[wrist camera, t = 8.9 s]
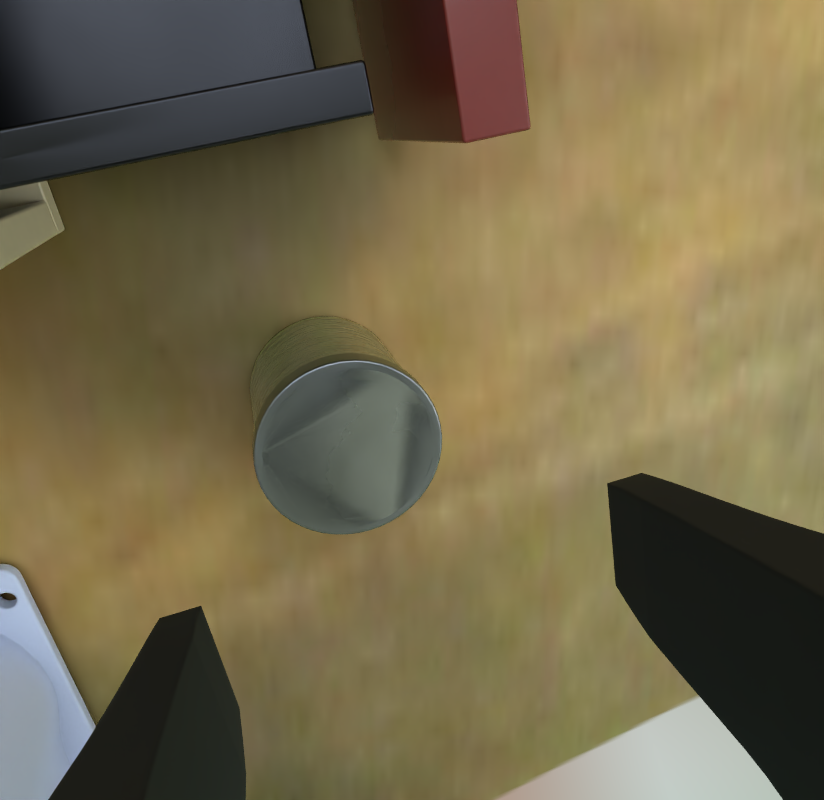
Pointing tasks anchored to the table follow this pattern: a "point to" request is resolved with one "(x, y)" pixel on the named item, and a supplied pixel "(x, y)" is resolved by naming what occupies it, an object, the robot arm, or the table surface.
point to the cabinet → (26, 220)
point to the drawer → (241, 77)
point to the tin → (340, 428)
